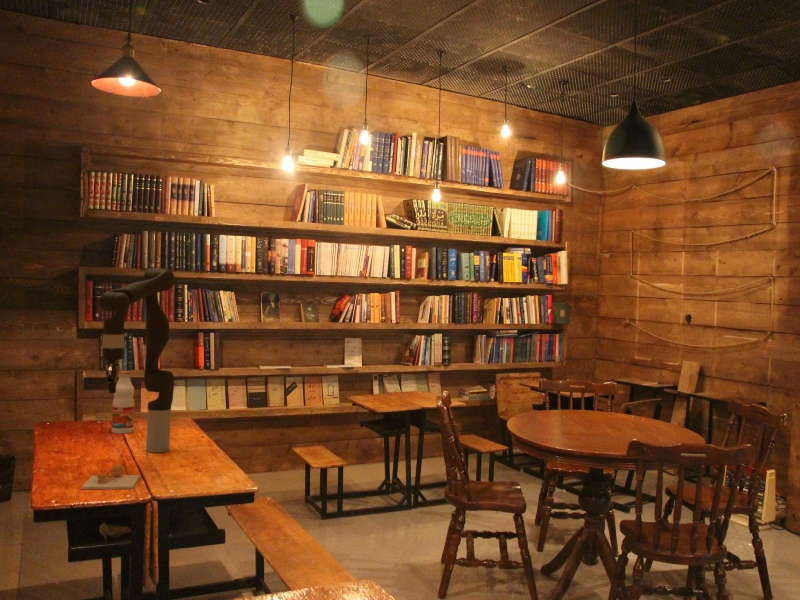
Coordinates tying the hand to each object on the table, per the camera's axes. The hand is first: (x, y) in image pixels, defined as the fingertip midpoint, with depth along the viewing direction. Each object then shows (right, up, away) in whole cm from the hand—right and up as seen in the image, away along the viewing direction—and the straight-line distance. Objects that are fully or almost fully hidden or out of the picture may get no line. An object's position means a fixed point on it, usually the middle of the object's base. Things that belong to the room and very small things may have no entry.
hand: (112, 393), depth 263 cm
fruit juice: (-22, -27, +67) cm, 75 cm away
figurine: (+8, -24, -13) cm, 28 cm away
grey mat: (+8, -28, -20) cm, 36 cm away
